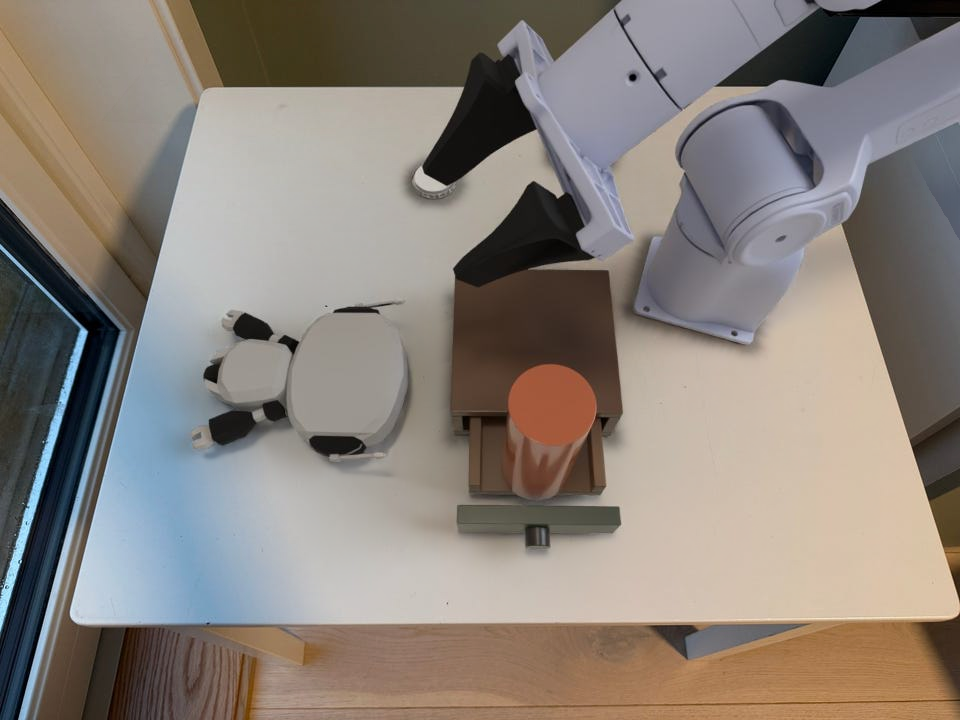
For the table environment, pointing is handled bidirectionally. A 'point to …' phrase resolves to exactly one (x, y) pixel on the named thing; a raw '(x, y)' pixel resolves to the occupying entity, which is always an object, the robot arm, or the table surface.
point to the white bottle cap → (429, 185)
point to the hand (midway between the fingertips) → (449, 225)
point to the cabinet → (532, 339)
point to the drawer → (534, 519)
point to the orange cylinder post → (545, 429)
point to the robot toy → (311, 381)
